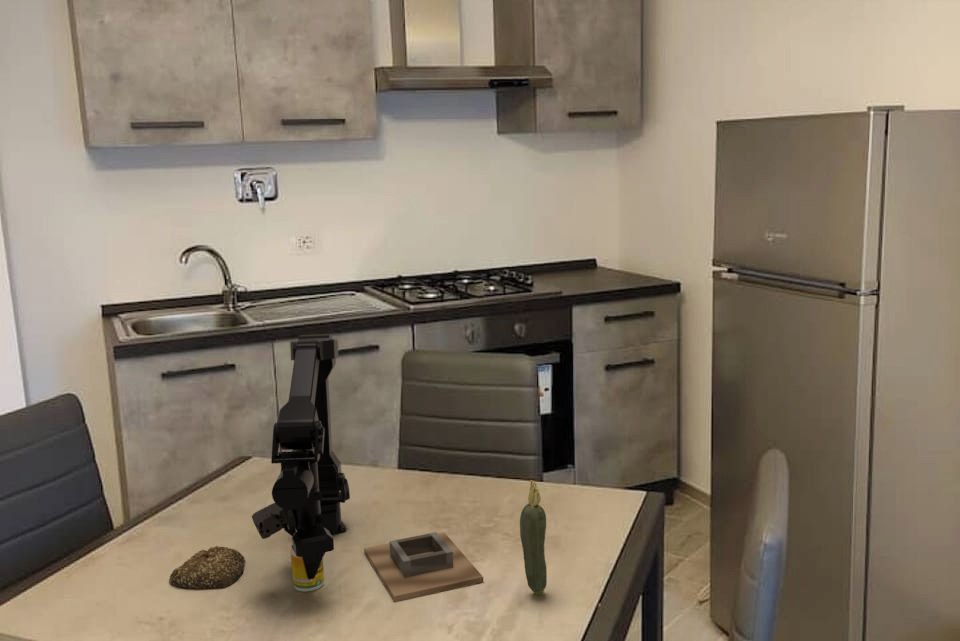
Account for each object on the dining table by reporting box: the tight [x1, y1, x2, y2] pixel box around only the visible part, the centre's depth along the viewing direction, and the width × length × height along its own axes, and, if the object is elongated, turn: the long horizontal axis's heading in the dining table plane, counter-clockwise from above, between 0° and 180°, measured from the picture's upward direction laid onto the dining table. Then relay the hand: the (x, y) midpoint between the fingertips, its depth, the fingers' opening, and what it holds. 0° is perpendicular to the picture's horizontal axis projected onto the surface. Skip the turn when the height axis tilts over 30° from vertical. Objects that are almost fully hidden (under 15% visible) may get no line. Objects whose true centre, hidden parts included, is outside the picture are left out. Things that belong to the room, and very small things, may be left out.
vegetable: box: [519, 479, 548, 596], centre depth 144 cm, size 4×4×20 cm
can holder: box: [363, 531, 484, 603], centre depth 157 cm, size 20×16×4 cm
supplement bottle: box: [290, 532, 325, 593], centre depth 151 cm, size 5×5×10 cm
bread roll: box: [168, 545, 246, 590], centre depth 158 cm, size 13×12×5 cm
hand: (307, 571), depth 152 cm, fingers closed on supplement bottle, 5 cm apart
